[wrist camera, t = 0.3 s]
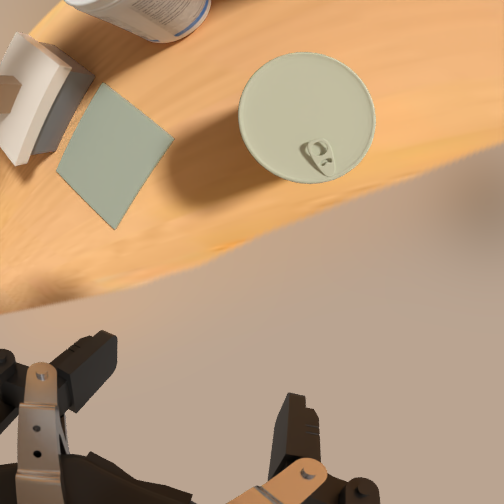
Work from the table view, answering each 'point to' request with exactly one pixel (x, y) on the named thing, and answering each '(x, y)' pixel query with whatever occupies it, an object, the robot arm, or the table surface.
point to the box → (62, 103)
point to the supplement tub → (149, 16)
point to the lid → (27, 94)
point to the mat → (112, 154)
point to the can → (306, 117)
